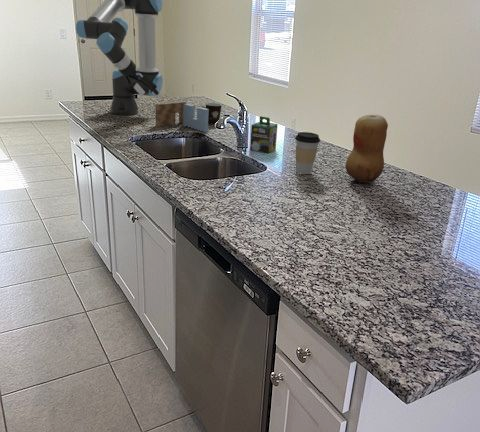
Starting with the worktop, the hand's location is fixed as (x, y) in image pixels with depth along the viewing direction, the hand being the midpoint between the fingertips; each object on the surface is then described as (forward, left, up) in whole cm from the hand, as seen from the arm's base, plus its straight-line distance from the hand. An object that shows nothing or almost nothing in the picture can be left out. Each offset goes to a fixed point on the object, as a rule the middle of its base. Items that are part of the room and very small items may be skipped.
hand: (151, 96), depth 225 cm
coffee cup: (+90, +4, -15) cm, 91 cm away
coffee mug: (+7, +33, -15) cm, 37 cm away
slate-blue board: (+13, +17, -15) cm, 26 cm away
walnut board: (0, +12, -15) cm, 19 cm away
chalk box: (+59, +16, -15) cm, 63 cm away
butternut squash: (+110, +14, -15) cm, 112 cm away
